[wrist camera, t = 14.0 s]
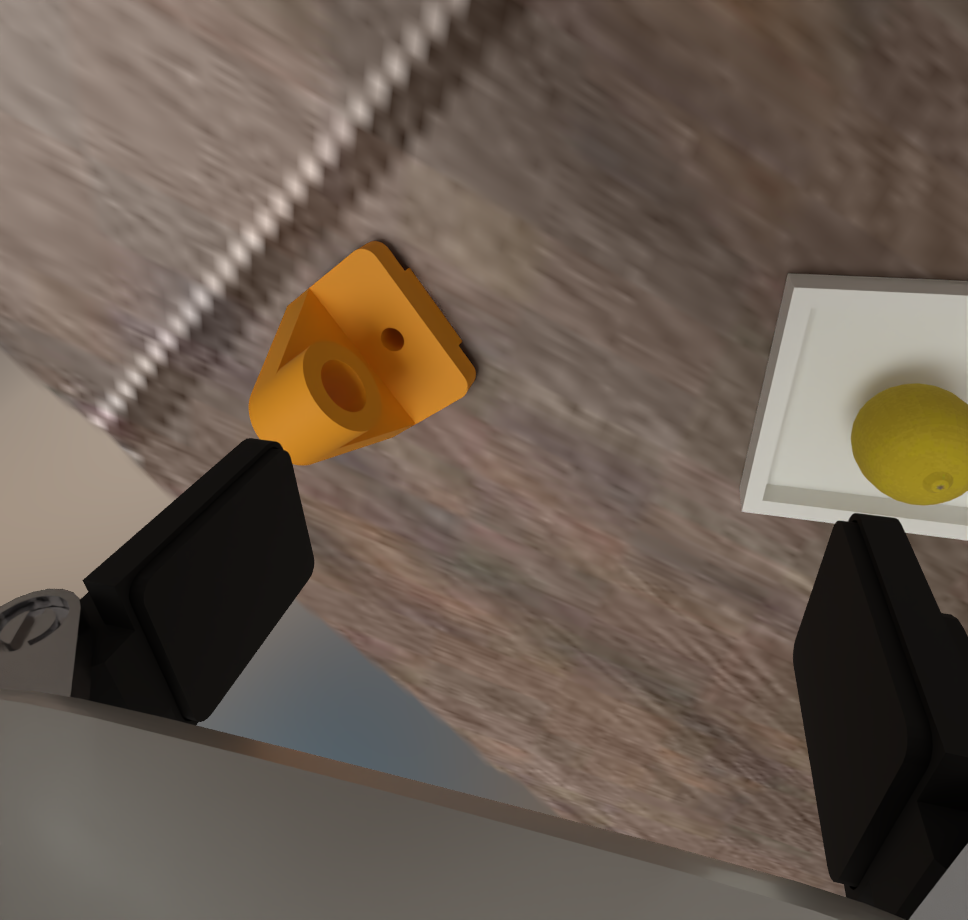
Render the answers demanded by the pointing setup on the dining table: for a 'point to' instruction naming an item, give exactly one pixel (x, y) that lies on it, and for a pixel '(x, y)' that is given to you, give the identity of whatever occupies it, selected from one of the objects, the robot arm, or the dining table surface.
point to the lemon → (913, 443)
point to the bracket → (357, 361)
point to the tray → (850, 393)
